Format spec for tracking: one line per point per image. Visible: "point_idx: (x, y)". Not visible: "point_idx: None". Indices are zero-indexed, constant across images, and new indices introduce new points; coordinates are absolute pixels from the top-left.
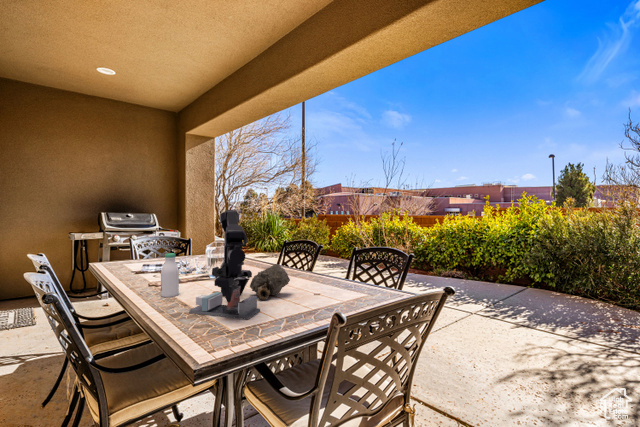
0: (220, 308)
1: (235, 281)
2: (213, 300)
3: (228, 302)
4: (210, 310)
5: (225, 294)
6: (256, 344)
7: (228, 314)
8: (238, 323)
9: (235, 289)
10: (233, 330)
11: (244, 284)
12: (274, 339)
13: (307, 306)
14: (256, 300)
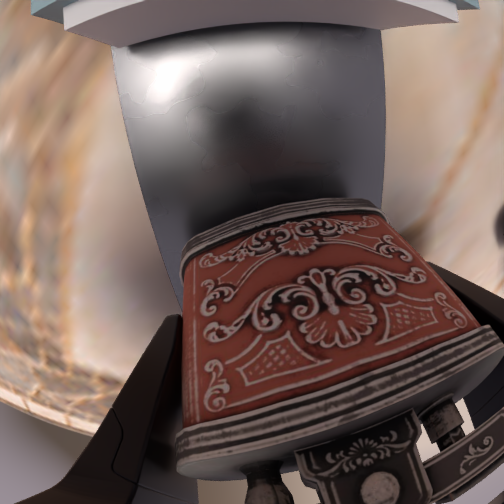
0: (273, 71)
1: (453, 496)
2: (200, 4)
3: (183, 315)
4: None
5: (122, 411)
6: (83, 428)
7: (164, 263)
8: (136, 347)
9: (288, 472)
10: (75, 367)
11: (474, 416)
12: None
13: None
14: None
